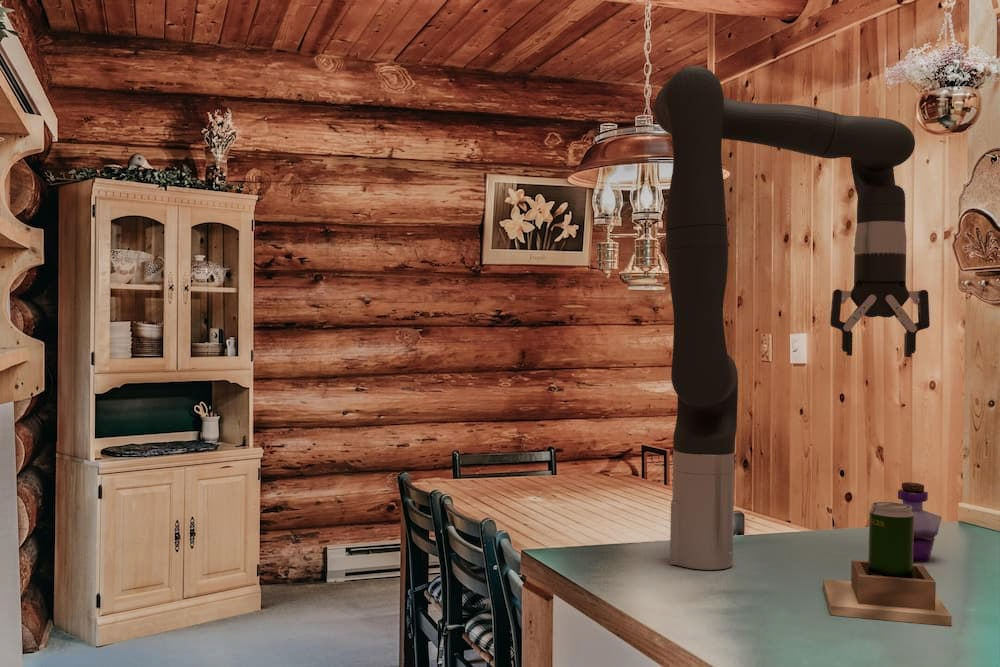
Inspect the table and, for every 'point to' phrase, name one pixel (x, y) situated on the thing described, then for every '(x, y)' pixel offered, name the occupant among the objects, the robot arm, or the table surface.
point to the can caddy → (886, 597)
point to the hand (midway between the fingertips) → (878, 356)
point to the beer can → (891, 540)
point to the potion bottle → (920, 520)
